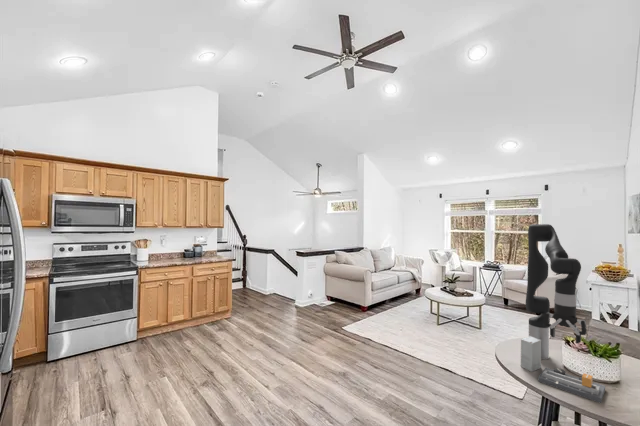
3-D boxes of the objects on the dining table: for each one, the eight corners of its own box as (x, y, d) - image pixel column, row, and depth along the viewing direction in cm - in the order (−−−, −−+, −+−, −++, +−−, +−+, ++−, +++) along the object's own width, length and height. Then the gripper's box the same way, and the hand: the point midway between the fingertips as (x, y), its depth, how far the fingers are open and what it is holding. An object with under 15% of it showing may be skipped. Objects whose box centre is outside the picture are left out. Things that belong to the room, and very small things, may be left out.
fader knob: (583, 385, 138) (583, 372, 138) (592, 388, 135) (592, 375, 135) (581, 388, 135) (582, 376, 135) (590, 391, 132) (591, 379, 132)
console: (545, 371, 154) (545, 363, 154) (605, 390, 137) (605, 382, 137) (538, 381, 144) (538, 373, 144) (600, 403, 128) (600, 394, 128)
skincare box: (529, 363, 162) (529, 335, 162) (541, 368, 156) (542, 339, 156) (519, 366, 158) (520, 338, 158) (532, 372, 153) (532, 342, 153)
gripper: (588, 305, 131) (587, 342, 131) (548, 298, 142) (547, 332, 142) (584, 308, 127) (584, 347, 127) (543, 301, 138) (543, 336, 138)
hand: (564, 339), depth 135 cm, fingers open, 8 cm apart
